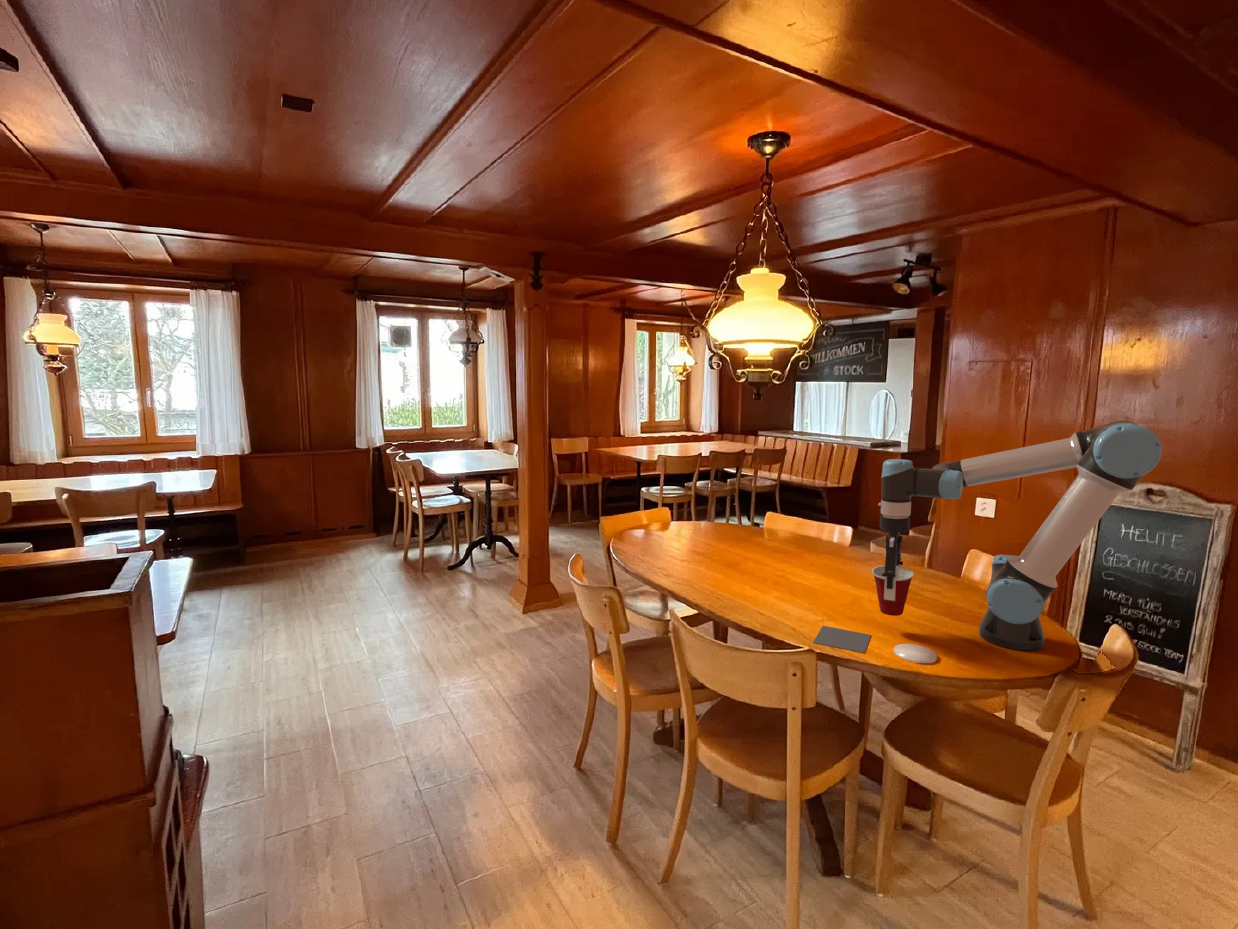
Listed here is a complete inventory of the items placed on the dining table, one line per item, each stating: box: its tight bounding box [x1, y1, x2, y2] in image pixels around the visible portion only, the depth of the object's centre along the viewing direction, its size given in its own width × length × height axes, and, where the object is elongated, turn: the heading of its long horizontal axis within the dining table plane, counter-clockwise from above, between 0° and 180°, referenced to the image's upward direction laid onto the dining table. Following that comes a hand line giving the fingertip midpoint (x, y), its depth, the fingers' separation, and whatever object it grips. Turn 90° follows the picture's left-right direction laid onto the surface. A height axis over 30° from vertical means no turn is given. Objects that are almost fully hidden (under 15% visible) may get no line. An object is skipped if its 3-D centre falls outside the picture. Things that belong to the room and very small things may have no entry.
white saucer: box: [893, 643, 938, 665], centre depth 159 cm, size 10×10×1 cm
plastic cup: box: [871, 565, 915, 617], centre depth 172 cm, size 11×11×12 cm
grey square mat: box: [812, 625, 872, 655], centre depth 169 cm, size 13×13×1 cm
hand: (891, 593), depth 172 cm, fingers closed on plastic cup, 11 cm apart
